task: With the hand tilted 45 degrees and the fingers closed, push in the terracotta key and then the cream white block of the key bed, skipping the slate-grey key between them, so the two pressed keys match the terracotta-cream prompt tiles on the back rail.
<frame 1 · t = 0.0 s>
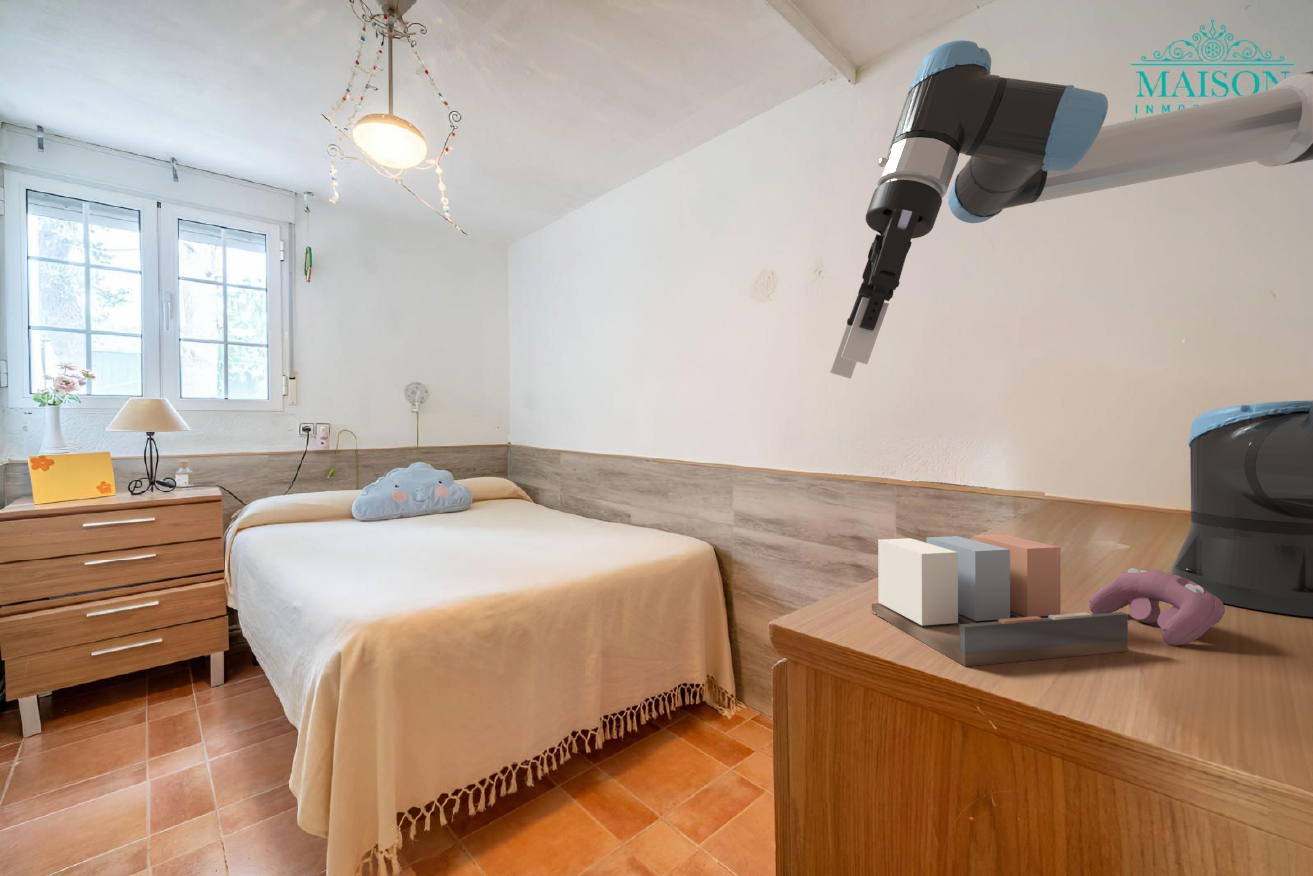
hand: (846, 369, 60), 28 cm above the dresser top, tool tilted 20°, fingers open, 13 cm apart
cream white block: (915, 578, 53), point 5 cm above the dresser top, slide at 0.0 cm
slate key: (965, 575, 54), point 5 cm above the dresser top, slide at 0.0 cm
terracotta key: (1014, 573, 55), point 5 cm above the dresser top, slide at 0.0 cm
video game controller: (1152, 630, 52), on the dresser top
key bed: (981, 627, 52), on the dresser top
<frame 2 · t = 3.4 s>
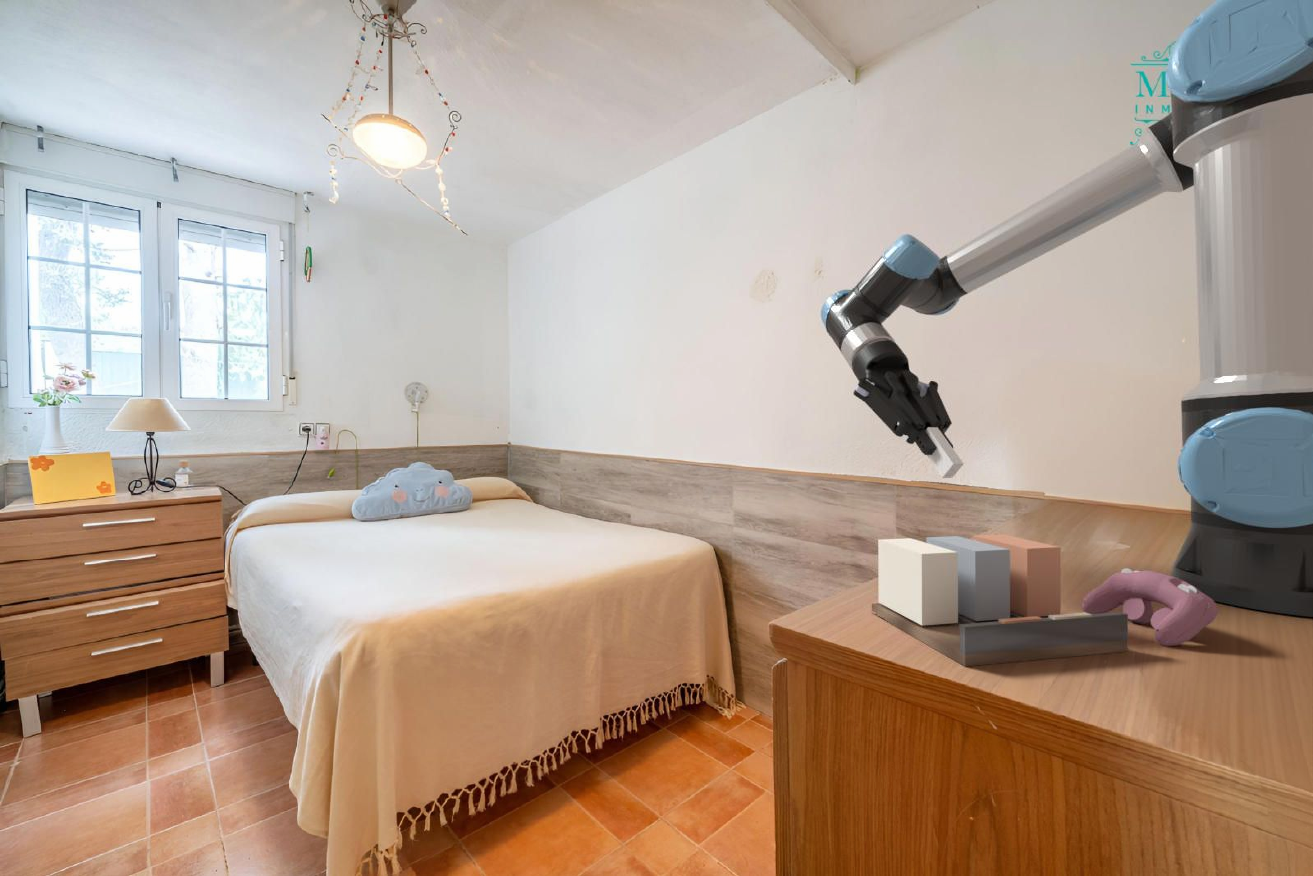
hand: (952, 470, 64), 15 cm above the dresser top, tool tilted 45°, fingers closed
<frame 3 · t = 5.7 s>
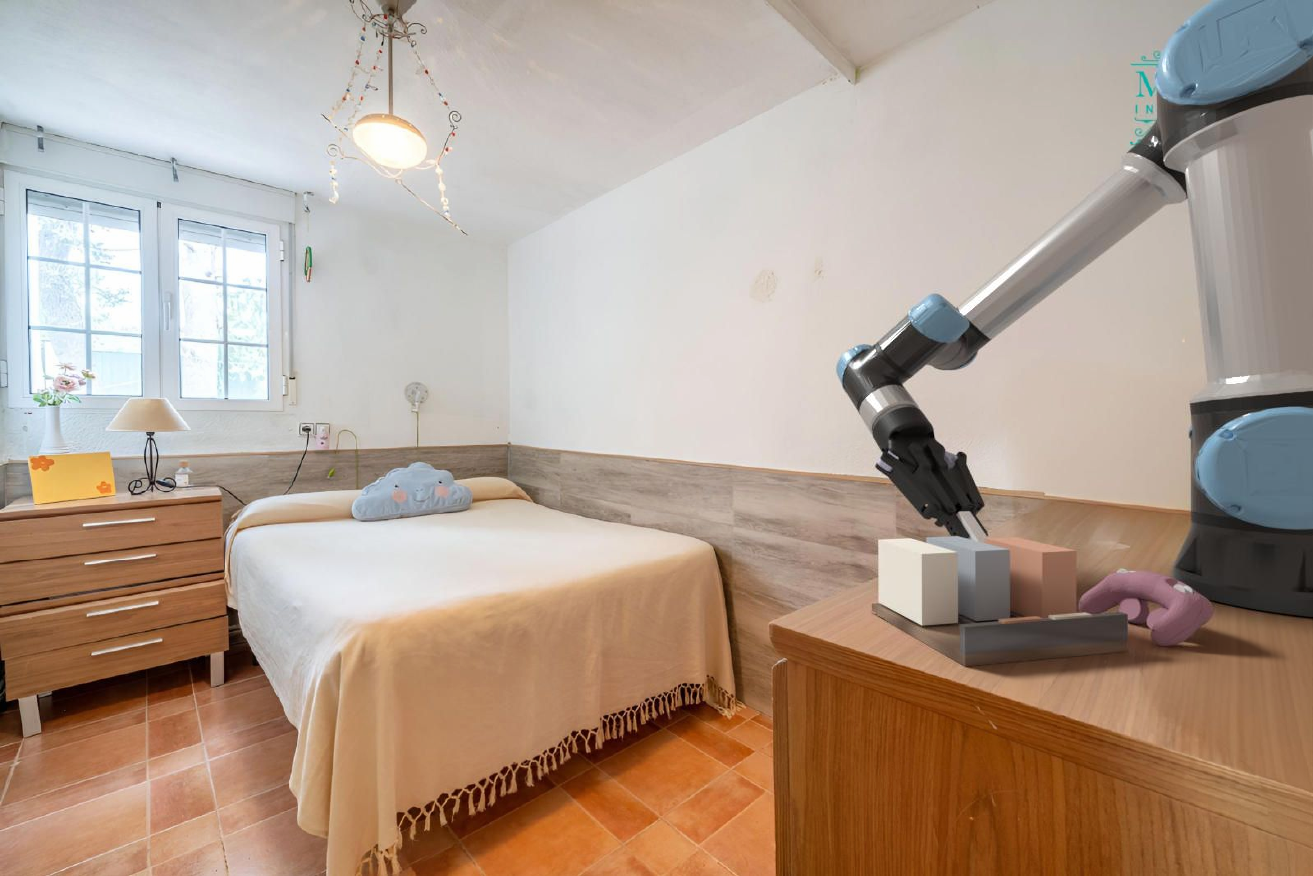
hand: (988, 564, 58), 5 cm above the dresser top, tool tilted 45°, fingers closed
terracotta key: (1027, 577, 54), point 5 cm above the dresser top, slide at 1.7 cm, touching gripper
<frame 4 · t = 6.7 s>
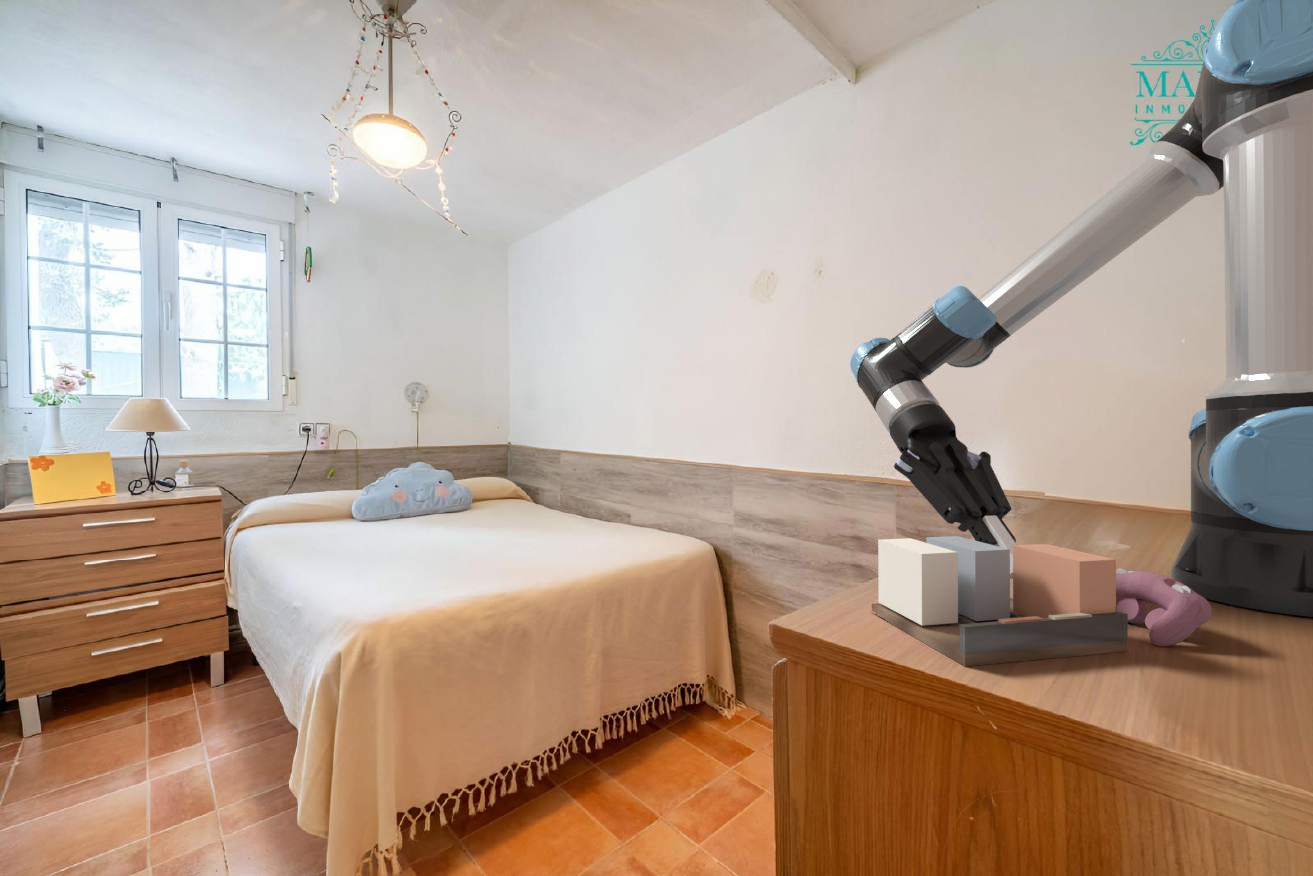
hand: (1017, 572, 55), 5 cm above the dresser top, tool tilted 45°, fingers closed
terracotta key: (1061, 587, 50), point 5 cm above the dresser top, slide at 5.3 cm, touching gripper
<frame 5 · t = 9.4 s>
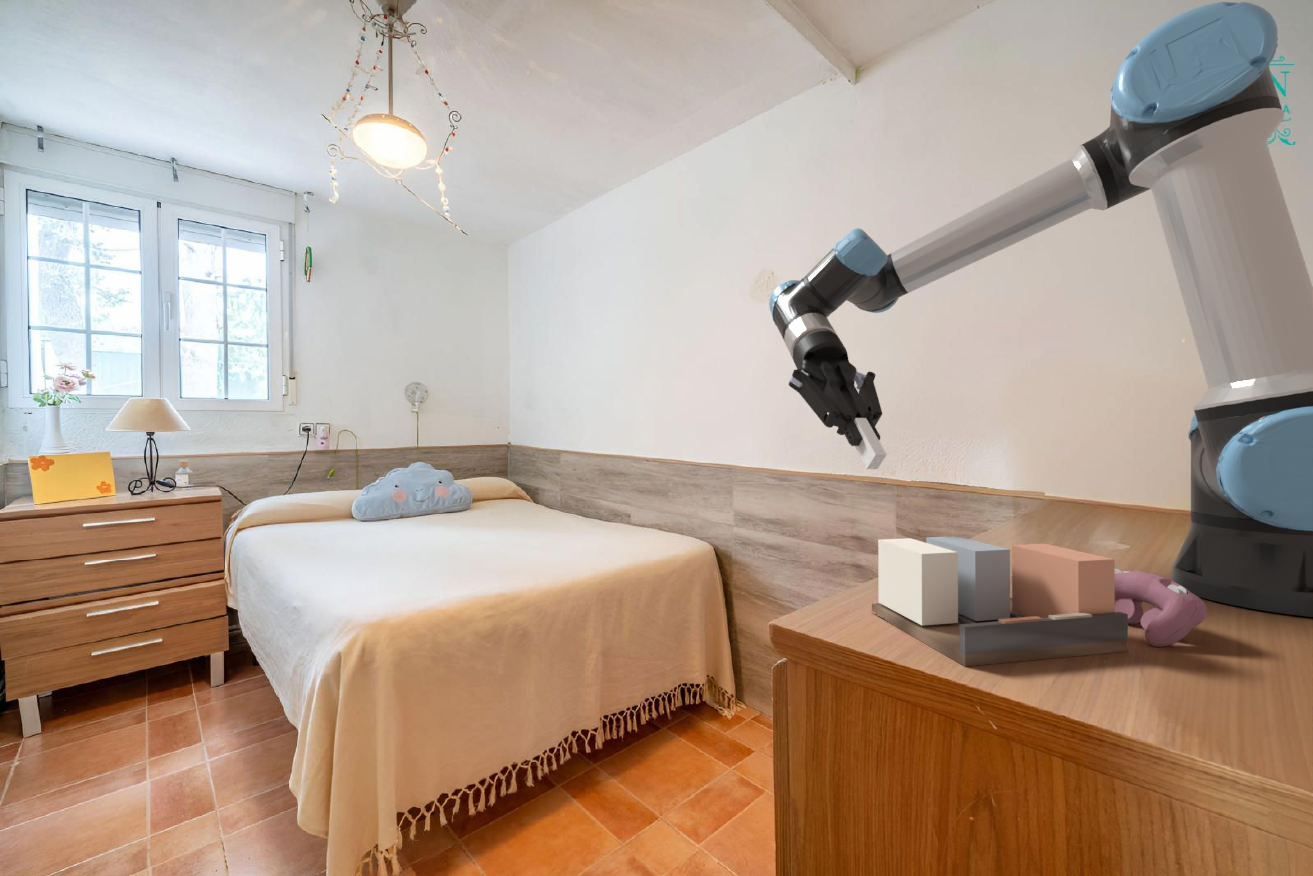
hand: (876, 461, 63), 17 cm above the dresser top, tool tilted 45°, fingers closed
terracotta key: (1060, 587, 50), point 5 cm above the dresser top, slide at 5.2 cm
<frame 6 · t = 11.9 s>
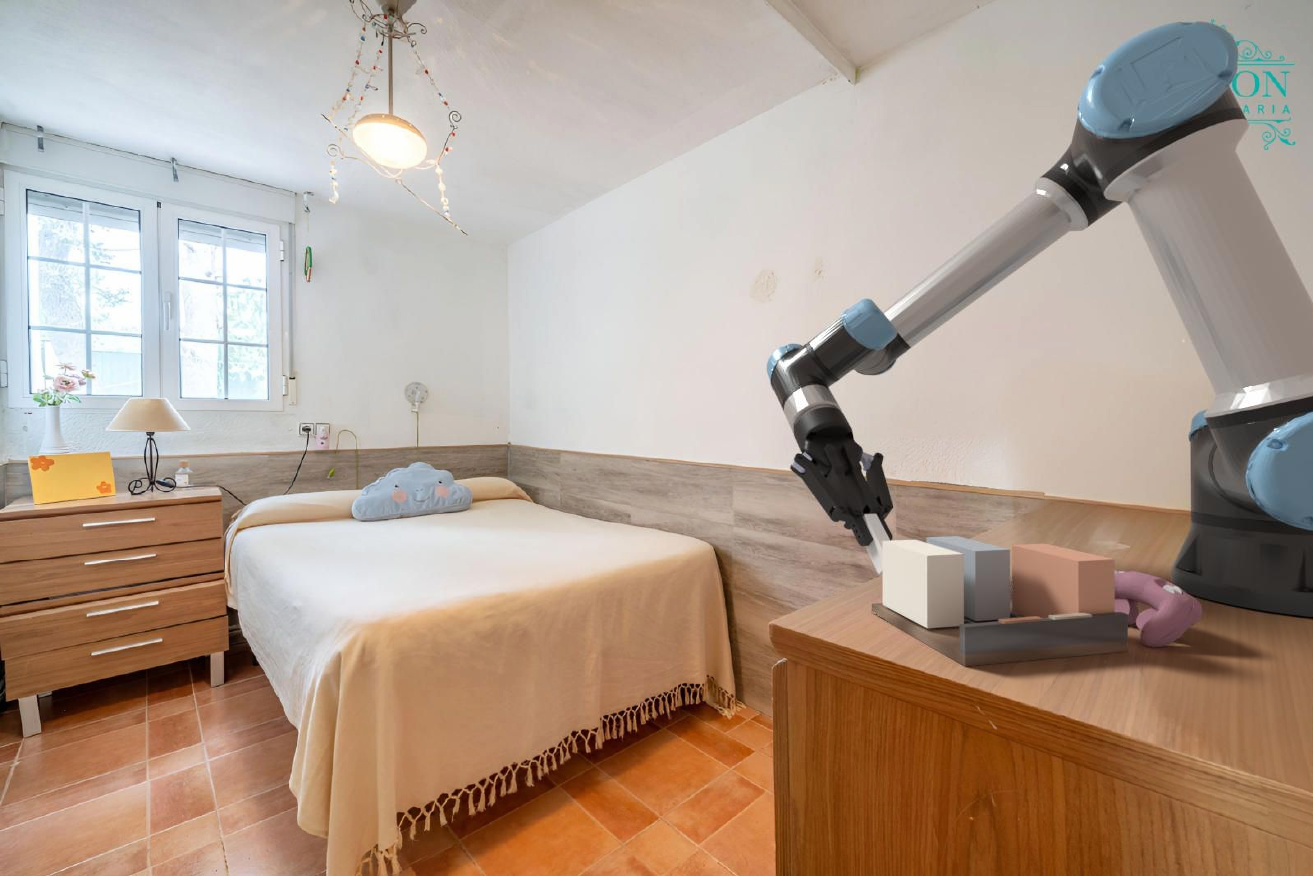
hand: (889, 567, 57), 5 cm above the dresser top, tool tilted 45°, fingers closed
cream white block: (920, 580, 52), point 5 cm above the dresser top, slide at 0.8 cm, touching gripper
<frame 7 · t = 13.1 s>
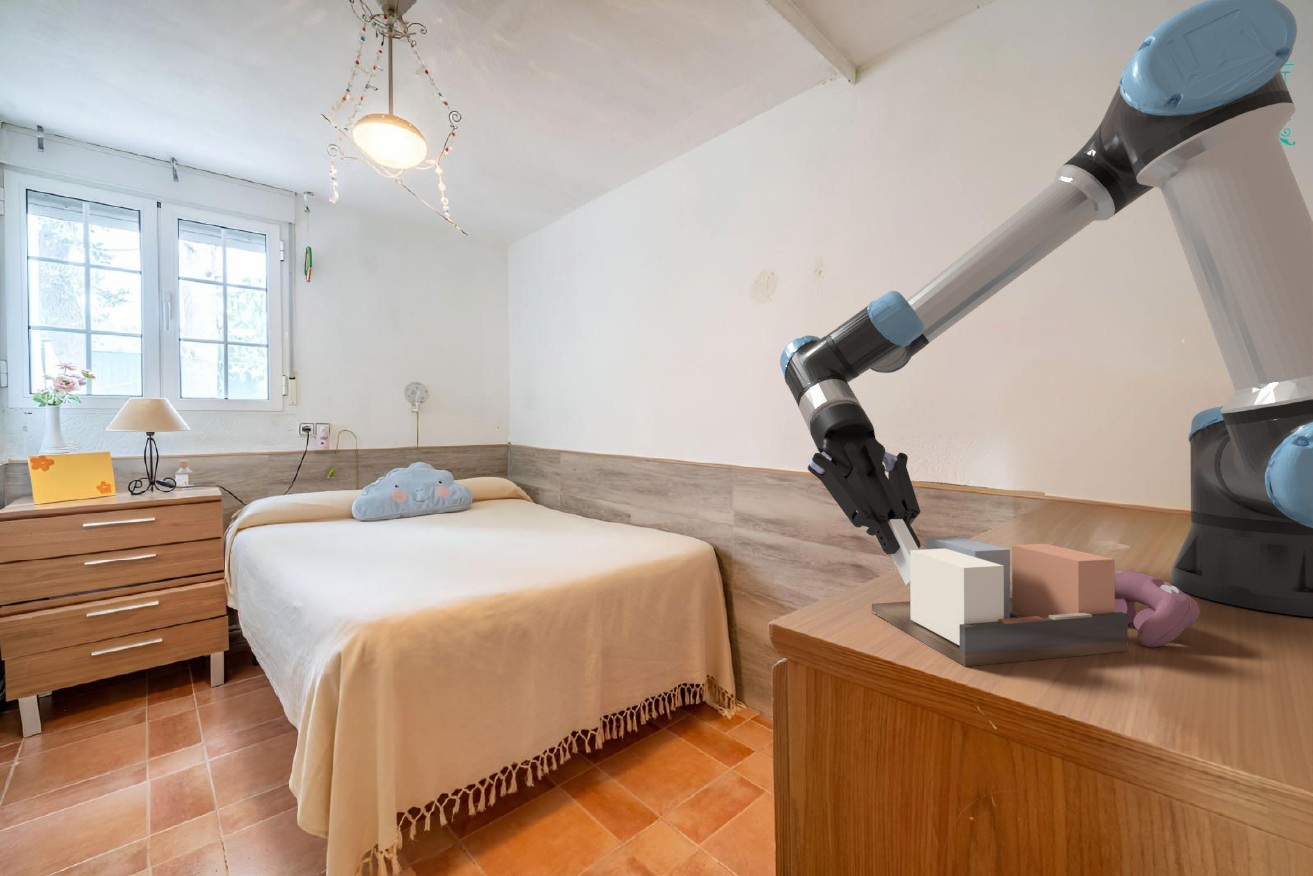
hand: (918, 578, 52), 5 cm above the dresser top, tool tilted 45°, fingers closed
cream white block: (954, 594, 48), point 5 cm above the dresser top, slide at 5.3 cm, touching gripper
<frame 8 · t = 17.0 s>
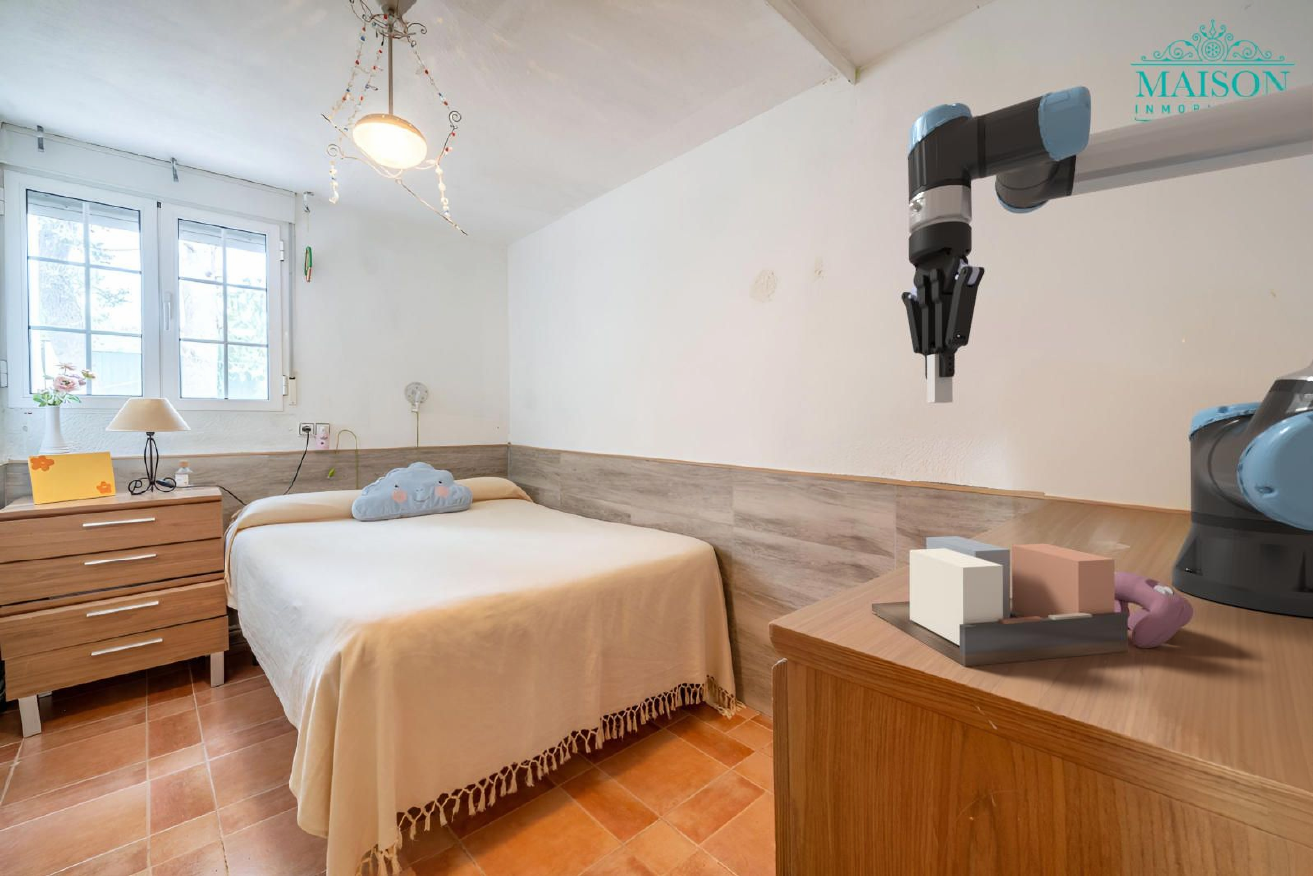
hand: (939, 402, 69), 24 cm above the dresser top, tool pointing down, fingers closed
cream white block: (953, 594, 48), point 5 cm above the dresser top, slide at 5.2 cm
at the end: terracotta key slide at 5.2 cm; cream white block slide at 5.2 cm; slate key slide at 0.0 cm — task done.
